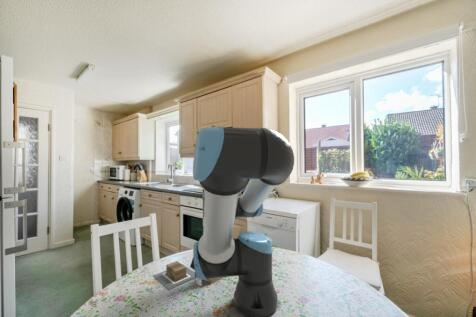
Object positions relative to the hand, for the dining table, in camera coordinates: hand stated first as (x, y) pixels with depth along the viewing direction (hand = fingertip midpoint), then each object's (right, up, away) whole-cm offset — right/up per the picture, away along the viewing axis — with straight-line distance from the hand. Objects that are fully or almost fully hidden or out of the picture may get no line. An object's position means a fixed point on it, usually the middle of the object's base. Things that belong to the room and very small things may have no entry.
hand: (212, 278), depth 91 cm
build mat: (-16, 0, +1) cm, 16 cm away
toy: (+17, +1, +18) cm, 25 cm away
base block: (-16, 0, +1) cm, 16 cm away
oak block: (0, 0, 0) cm, 0 cm away
